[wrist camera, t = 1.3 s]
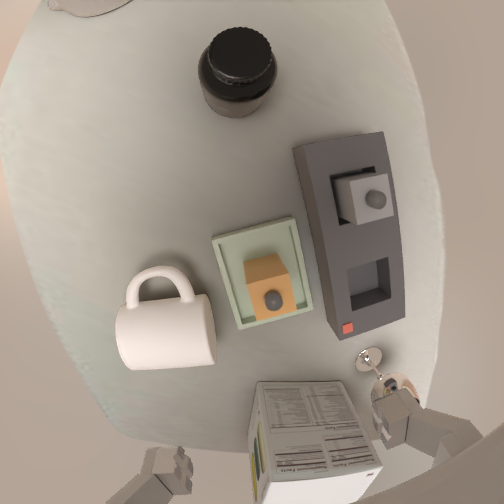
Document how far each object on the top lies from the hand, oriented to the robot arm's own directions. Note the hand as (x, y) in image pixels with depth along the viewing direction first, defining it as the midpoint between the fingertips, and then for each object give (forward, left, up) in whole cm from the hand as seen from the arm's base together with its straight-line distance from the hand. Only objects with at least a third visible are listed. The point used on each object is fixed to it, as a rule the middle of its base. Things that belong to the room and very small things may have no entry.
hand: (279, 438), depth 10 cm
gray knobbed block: (-5, +13, -24) cm, 28 cm away
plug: (+2, +2, -25) cm, 25 cm away
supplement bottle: (-19, +4, -26) cm, 32 cm away
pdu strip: (0, +13, -26) cm, 28 cm away
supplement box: (+26, +1, -26) cm, 37 cm away
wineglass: (+20, +14, -26) cm, 35 cm away
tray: (+2, +2, -26) cm, 26 cm away
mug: (+3, -10, -26) cm, 28 cm away
